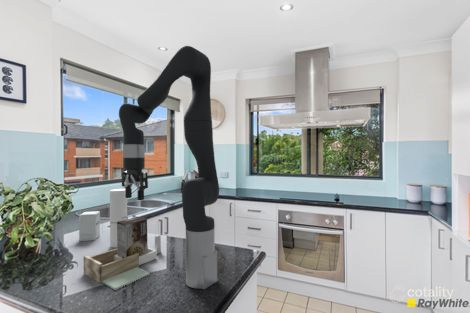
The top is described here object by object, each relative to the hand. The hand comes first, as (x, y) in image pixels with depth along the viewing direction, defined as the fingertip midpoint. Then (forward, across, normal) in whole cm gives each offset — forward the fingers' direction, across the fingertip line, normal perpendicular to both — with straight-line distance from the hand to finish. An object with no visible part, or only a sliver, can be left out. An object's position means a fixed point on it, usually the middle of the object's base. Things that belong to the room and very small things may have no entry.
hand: (134, 198), depth 95 cm
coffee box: (+24, 0, +1) cm, 24 cm away
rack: (+24, 0, +8) cm, 25 cm away
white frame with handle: (+24, 0, -3) cm, 24 cm away
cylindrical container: (+24, +23, -6) cm, 34 cm away
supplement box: (+24, +43, -2) cm, 49 cm away
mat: (+24, -10, +9) cm, 28 cm away
